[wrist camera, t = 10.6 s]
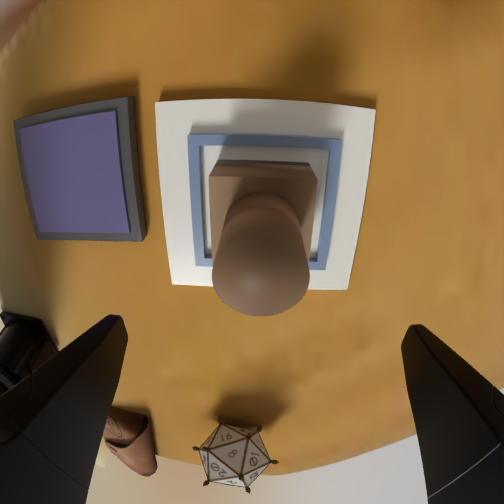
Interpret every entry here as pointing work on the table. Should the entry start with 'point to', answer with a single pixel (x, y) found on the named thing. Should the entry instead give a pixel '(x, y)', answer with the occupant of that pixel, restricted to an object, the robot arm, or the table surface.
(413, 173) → the table surface
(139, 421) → the sunglasses case
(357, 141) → the print card
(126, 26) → the table surface
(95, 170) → the ink pad
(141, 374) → the table surface
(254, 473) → the game die
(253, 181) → the stamp
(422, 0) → the table surface
